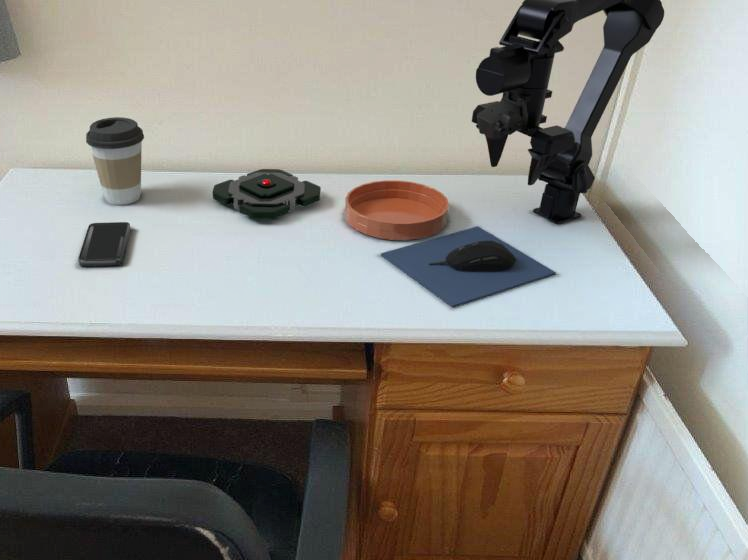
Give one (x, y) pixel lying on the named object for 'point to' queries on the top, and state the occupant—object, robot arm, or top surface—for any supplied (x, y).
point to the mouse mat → (463, 284)
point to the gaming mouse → (480, 257)
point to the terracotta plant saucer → (396, 210)
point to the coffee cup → (117, 158)
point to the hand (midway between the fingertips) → (511, 175)
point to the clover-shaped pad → (266, 193)
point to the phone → (105, 244)
